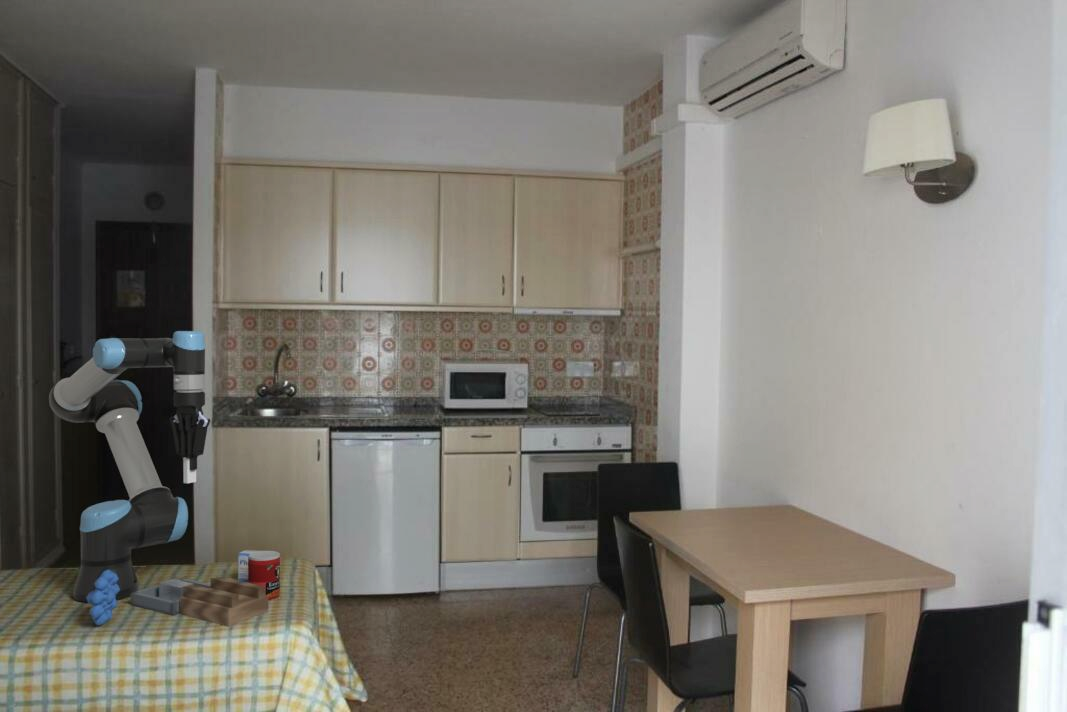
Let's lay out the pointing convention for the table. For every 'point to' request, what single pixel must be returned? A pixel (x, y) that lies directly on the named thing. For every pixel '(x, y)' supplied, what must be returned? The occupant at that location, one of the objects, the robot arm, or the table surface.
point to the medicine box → (243, 565)
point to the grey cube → (177, 590)
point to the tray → (160, 599)
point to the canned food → (265, 571)
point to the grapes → (103, 597)
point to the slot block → (224, 601)
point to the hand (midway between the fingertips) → (189, 482)
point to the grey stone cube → (166, 588)
